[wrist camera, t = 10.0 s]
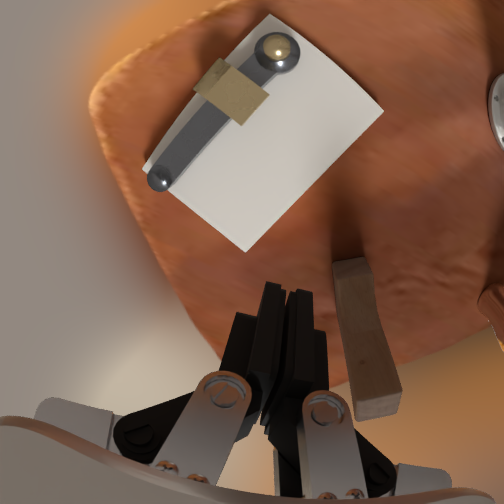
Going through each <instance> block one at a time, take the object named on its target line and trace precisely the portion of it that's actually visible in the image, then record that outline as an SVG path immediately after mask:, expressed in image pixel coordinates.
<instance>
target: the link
mask: <svg viewBox="0 0 504 504" xmlns="http://www.w3.org/2000/svg"><path fill="white" fill-rule="evenodd" d="M271 35H281V36H284V37H285V38H287V39H288V41H289V42H290V54H289V56H288V58H287V59H286V60H284V61H281V62H274V61H271V60H269V59H268V58H267V57H266V55H265V52H264V49H263V43H264V41H265V39H266V38H268V37H269V36H271ZM299 59H300V47H299V44H298V43H297V41H296V40H295V39H294V38H293V37H291V36H290V35H288V34H286V33H282V32H272V33H268V34H266V35H264V36H262V37H261V38H260V39H259V40H258V41H257V43H256V45H255V48H254V53H253V54H252V55H251V56H250V57H249V58H248V59H247V60H246V61H245V62H244V63H243V64H242V65H241V66H240V67H239V68H238V69H237V70H238V71H240V72H241V73H242V74H244V75H245V76H246V77H248V78H249V79H250V80H252V81H253V82H254V83H256V84H257V85H258V86H259V87H261V88H262V89H263V88H264V87H265V86H266V85H267V84H268V83H269V82H270V81H271V80H272V79H274V78H275V77H276V76H277V75H282V74H286V73H289V72H290V71H292V70H293V69H294V68H295V67H296V66H297V64H298V62H299ZM231 120H232V118H230V117H229V116H228V115H226V114H225V113H224V112H223V111H221V110H220V109H219V108H217V107H216V106H215V105H213V104H212V103H211V102H209V101H208V100H207V101H206V102H205V103H204V104H203V105H202V106H201V108H200V109H199V110H198V111H197V112H196V113H195V114H194V115H193V117H192V118H191V119H190V120H189V121H188V122H187V124H186V125H185V126H184V127H183V128H182V129H181V131H180V132H179V133H178V134H177V135H176V137H175V138H174V139H173V140H172V142H171V143H170V144H169V145H168V147H167V148H166V149H165V150H164V152H163V153H162V154H161V155H160V157H159V158H158V159H157V161H156V162H155V163H154V165H153V166H152V167H151V169H150V170H149V172H148V174H147V181H148V184H149V186H150V187H151V188H152V189H153V190H155V191H157V192H163V191H166V190H167V189H169V188H170V187H172V186H173V185H174V184H175V183H176V182H177V181H178V180H179V178H180V177H181V176H182V175H183V174H184V172H185V171H186V170H187V169H188V168H189V167H190V165H191V164H192V163H193V162H194V161H195V160H196V158H197V157H198V156H199V155H200V154H201V153H202V152H203V150H204V149H205V148H206V147H207V146H208V145H209V144H210V143H211V142H212V140H213V139H214V138H215V137H216V136H217V135H218V134H219V133H220V132H221V131H222V130H223V129H224V127H225V126H226V125H227V124H228V123H229V122H230V121H231Z"/></svg>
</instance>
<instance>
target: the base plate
mask: <svg viewBox="0 0 504 504" xmlns="http://www.w3.org/2000/svg"><path fill="white" fill-rule="evenodd" d="M272 32H282V33H286V34H288V35H290V36H291V37H293V38H294V39H295V40H296V41H297V43H298V44H299V47H300V59H299V62H298V64H297V66H296V67H295V68H294V69H293V70H292V71H290V72H289V73H286V74H282V75H277V76H276V77H275V78H274V79H272V80H271V81H270V82H269V83H268V84H267V85H266V86H265V87H264V88H263V90H264V91H266V92H267V93H268V94H270V96H269V97H268V98H267V99H266V100H265V101H264V102H263V104H262V105H261V106H260V107H259V108H258V109H257V110H256V111H255V112H254V113H253V115H252V116H251V117H250V118H249V119H248V120H247V121H246V123H245V124H244V125H243V126H240V125H239V124H238V123H237V122H235V121H234V120H233V119H232V120H231V121H230V122H229V123H228V124H227V125H226V126H225V127H224V129H223V130H222V131H221V132H220V133H219V134H218V135H217V136H216V137H215V138H214V139H213V140H212V142H211V143H210V144H209V145H208V146H207V147H206V148H205V149H204V150H203V152H202V153H201V154H200V155H199V156H198V157H197V158H196V160H195V161H194V162H193V163H192V164H191V165H190V167H189V168H188V169H187V170H186V171H185V172H184V174H183V175H182V176H181V177H180V178H179V180H178V181H177V182H176V183H175V184H174V185H173V186H172V187H170V188H169V189H167V190H168V191H169V192H171V193H172V194H173V195H174V196H176V197H177V198H178V199H179V200H181V201H182V202H183V203H184V204H186V205H187V206H188V207H189V208H190V209H192V210H193V211H194V212H195V213H197V214H198V215H199V216H200V217H202V218H203V219H204V220H205V221H207V222H208V223H209V224H210V225H212V226H213V227H214V228H215V229H217V230H218V231H219V232H220V233H222V234H223V235H224V236H225V237H227V238H228V239H229V240H230V241H232V242H233V243H234V244H235V245H237V246H238V247H239V248H240V249H242V250H243V251H244V252H245V253H246V252H247V251H248V250H249V249H250V248H251V247H252V246H253V244H254V243H255V242H256V241H257V240H258V239H259V238H260V237H261V236H262V235H263V234H264V233H265V232H266V231H267V230H268V229H269V228H270V227H271V226H272V225H273V224H274V223H275V222H276V221H277V220H278V219H279V218H280V217H281V216H282V215H283V214H284V213H285V212H286V211H287V210H288V209H289V208H290V206H291V205H292V204H293V203H294V202H295V201H296V200H297V199H298V198H299V197H300V196H301V195H302V194H303V193H304V192H305V191H306V190H307V189H308V188H309V187H310V186H311V185H312V184H313V183H314V182H315V181H316V180H317V179H318V178H319V177H320V176H321V175H322V174H323V173H324V172H325V171H326V170H327V169H328V168H329V167H330V166H331V165H332V164H333V163H334V162H335V160H336V159H337V158H338V157H339V156H340V155H341V154H342V153H343V152H344V151H345V150H346V149H347V148H348V147H349V146H350V145H351V144H352V143H353V142H354V141H355V140H356V139H357V138H358V137H359V136H360V135H361V134H362V133H363V132H364V131H365V130H366V129H367V128H368V127H369V126H370V125H371V124H372V123H373V122H374V121H375V120H376V119H377V118H378V117H379V116H380V115H381V114H382V113H383V112H384V111H383V110H382V108H381V107H380V106H379V105H378V104H377V103H376V102H375V101H374V100H373V99H372V98H371V97H370V96H369V95H368V94H367V93H366V92H365V91H364V90H363V89H362V88H361V87H360V86H359V85H358V84H357V83H356V82H355V81H354V80H353V79H352V78H351V77H349V76H348V75H347V74H346V73H345V72H344V71H343V70H342V69H341V68H340V67H338V66H337V65H336V64H335V63H334V62H333V61H332V60H330V59H329V58H328V57H327V56H326V55H325V54H323V53H322V52H321V51H320V50H318V49H317V48H316V47H315V46H313V45H312V44H311V43H310V42H308V41H307V40H306V39H305V38H303V37H302V36H301V35H299V34H298V33H297V32H295V31H294V30H292V29H291V28H290V27H288V26H287V25H285V24H284V23H283V22H281V21H280V20H278V19H277V18H275V17H274V16H272V15H271V14H269V15H268V16H267V17H266V18H265V19H264V20H263V21H262V22H261V23H260V24H258V25H257V26H256V27H255V28H254V29H253V30H252V31H251V32H250V33H249V34H248V35H247V36H246V38H245V39H244V40H243V41H242V42H241V43H240V44H239V45H238V46H237V47H236V48H235V49H234V50H233V51H232V52H231V53H230V54H229V56H228V57H227V58H226V59H225V60H224V61H226V62H227V63H228V64H230V65H231V66H233V67H234V68H235V69H238V68H239V67H240V66H241V65H242V64H243V63H244V62H245V61H246V60H247V59H248V58H249V57H250V56H251V55H252V54H253V53H254V48H255V45H256V43H257V41H258V40H259V39H260V38H261V37H262V36H264V35H266V34H268V33H272ZM206 101H207V99H205V98H204V97H203V96H201V95H200V94H199V93H196V94H195V96H194V97H193V98H192V99H191V101H190V102H189V103H188V104H187V106H186V107H185V108H184V110H183V111H182V112H181V114H180V115H179V116H178V118H177V119H176V120H175V122H174V123H173V124H172V126H171V127H170V129H169V130H168V131H167V133H166V134H165V136H164V137H163V138H162V140H161V141H160V143H159V144H158V146H157V147H156V149H155V150H154V152H153V153H152V155H151V156H150V158H149V159H148V161H147V162H146V164H145V165H144V167H143V168H142V170H143V171H145V172H146V173H147V174H148V172H149V170H150V169H151V167H152V166H153V165H154V163H155V162H156V161H157V159H158V158H159V157H160V155H161V154H162V153H163V152H164V150H165V149H166V148H167V147H168V145H169V144H170V143H171V142H172V140H173V139H174V138H175V137H176V135H177V134H178V133H179V132H180V131H181V129H182V128H183V127H184V126H185V125H186V124H187V122H188V121H189V120H190V119H191V118H192V117H193V115H194V114H195V113H196V112H197V111H198V110H199V109H200V108H201V106H202V105H203V104H204V103H205V102H206Z"/></svg>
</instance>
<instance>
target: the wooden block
mask: <svg viewBox="0 0 504 504" xmlns="http://www.w3.org/2000/svg"><path fill="white" fill-rule="evenodd" d="M332 270H333V279H334V288H335V298H336V308H337V317H338V322H339V327H340V332H341V337H342V342H343V348H344V353H345V359H346V364H347V370H348V376H349V382H350V389H351V395H352V401H353V408H354V416H355V420H356V421H358V422H360V421H365V420H370V419H375V418H380V417H384V416H389V415H393V414H396V413H397V410H398V406H399V403H400V398H401V394H402V387H401V383H400V380H399V377H398V374H397V370H396V367H395V364H394V361H393V358H392V355H391V352H390V349H389V346H388V343H387V340H386V337H385V334H384V332H383V329H382V326H381V323H380V319H379V315H378V312H377V306H376V300H375V294H374V278H373V273H372V271H371V269H370V267H369V265H368V263H367V260H366V259H365V257H358V258H353V259H347V260H341V261H335V262H333V263H332Z"/></svg>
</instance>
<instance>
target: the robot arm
mask: <svg viewBox="0 0 504 504" xmlns="http://www.w3.org/2000/svg"><path fill="white" fill-rule="evenodd" d="M488 111H489V119H490V123H491V127H492V130H493V133H494V136H495V138H496V140H497V142H498V144H499V145H500V147H501V148H502V149H503V150H504V73H502V74H500V75H499V76H497V77H496V78H495V80H494V81H493V83H492V85H491V88H490V92H489V99H488ZM285 299H286V290H284V289H281V285H280V284H276V283H272V282H267V281H266V284H265V288H264V291H263V295H262V299H261V303H260V306H259V310H258V314H257V317H256V316H252V315H248V314H244V313H239V312H236V315H235V319H234V322H233V325H232V329H231V332H230V335H229V338H228V342H227V345H226V348H225V352H224V355H223V358H222V362H221V365H220V368H219V371H216V372H211V373H209V374H208V375H206V376H204V378H203V379H202V380H201V381H200V382H199V384H198V386H197V388H196V390H195V391H193V392H191V393H188V394H186V395H183V396H180V397H177V398H175V399H172V400H169V401H166V402H164V403H161V404H158V405H155V406H152V407H149V408H146V409H143V410H140V411H137V412H134V413H130V414H128V415H126V416H120V415H115V414H113V412H112V411H108V410H103V409H98V408H94V407H90V406H86V405H82V404H78V403H75V402H71V401H67V400H64V399H60V398H54V397H51V398H48V399H45V400H44V401H42V402H41V403H40V405H39V406H38V408H37V411H36V413H35V416H34V419H32V418H27V417H21V416H2V417H0V504H496V502H495V500H494V499H493V498H492V497H491V496H490V495H489V494H487V493H485V492H483V491H480V490H477V489H473V488H462V487H461V488H460V487H459V488H452V481H451V477H450V475H449V474H448V473H447V472H446V471H444V470H442V469H435V468H428V467H421V466H414V465H407V464H402V463H399V464H398V465H394V464H393V463H392V462H391V461H390V460H389V459H388V458H387V457H386V456H384V455H383V454H382V453H381V452H380V451H379V450H378V449H376V448H375V447H374V446H373V445H372V444H371V443H370V442H368V440H367V439H365V438H364V437H363V436H362V435H361V434H360V433H359V432H358V431H357V430H356V429H355V428H354V426H353V422H352V417H351V413H350V409H349V407H348V404H347V403H346V401H345V400H344V399H343V398H342V397H341V396H339V395H338V394H336V393H334V392H331V391H329V376H328V356H327V340H326V333H325V331H320V330H315V329H314V317H313V293H312V292H310V291H306V290H302V289H297V290H296V292H292V291H290V293H289V296H288V299H287V302H286V305H285ZM261 411H262V413H261ZM260 413H261V419H260V425H262V426H265V431H264V434H266V435H268V440H269V441H270V442H271V443H272V445H273V446H274V449H273V458H274V459H273V460H274V485H275V496H271V495H264V494H256V493H250V492H244V491H238V490H233V489H228V488H223V487H219V486H216V484H217V481H218V479H219V477H220V474H221V472H222V470H223V468H224V466H225V463H226V461H227V459H228V456H229V454H230V452H231V449H232V447H233V444H234V443H235V442H237V441H239V440H241V439H242V438H244V437H246V436H248V434H249V432H250V431H251V428H252V426H253V424H256V422H257V420H258V418H259V416H260Z"/></svg>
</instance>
